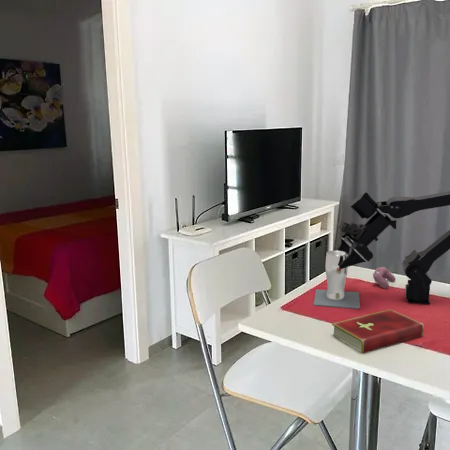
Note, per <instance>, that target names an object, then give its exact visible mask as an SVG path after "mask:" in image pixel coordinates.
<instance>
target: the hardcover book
mask: <svg viewBox="0 0 450 450" xmlns="http://www.w3.org/2000/svg"><path fill="white" fill-rule="evenodd" d="M331 325H332V326H333V336H334V337H335V338H337V339H338V340H340V341H341V342H344V343H345V344H347V345H348V346H350V347H351V348H354V349H355V350H357V351H358V352H360V353H361V354H366V353H369V352H373V351H377V350H381V349H383V348H386V347H389V346H390V347H391V346H394V345H397V344H400V343H404V342H407V341H411V340H415V339H418V338H422V337H424V332H425V328H424V327H425V326H424V323H422V322H420V321H418V320H415V318H414V319H413V318H412V317H409V316H407V315H405V314H402V313H400V312H398V311H396V310H393V309H392V308H389V309H386V310H382V311H376V312H375V313H374V312H373V313H369V314H366V315H361V316H356V317H353V318H349V319H344V320H340V321H337V322H333V323H331Z"/></svg>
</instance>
